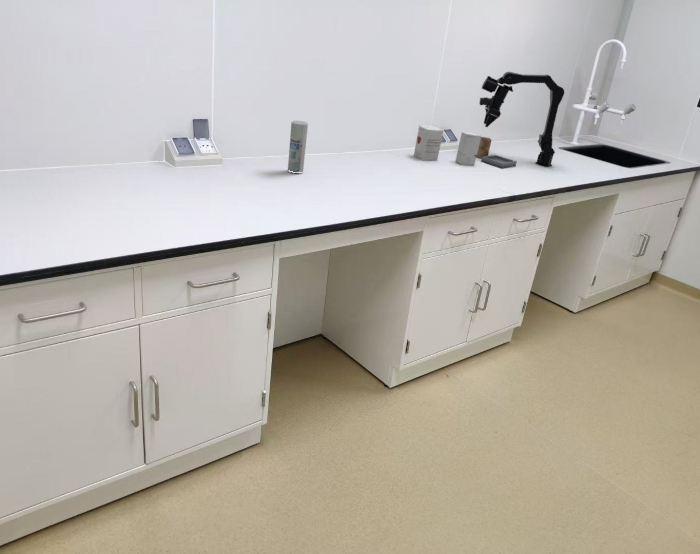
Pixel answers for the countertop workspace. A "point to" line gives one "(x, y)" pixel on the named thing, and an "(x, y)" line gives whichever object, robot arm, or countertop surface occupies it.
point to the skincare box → (468, 148)
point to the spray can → (297, 146)
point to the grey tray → (498, 161)
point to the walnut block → (484, 147)
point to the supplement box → (428, 142)
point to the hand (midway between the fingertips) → (485, 125)
